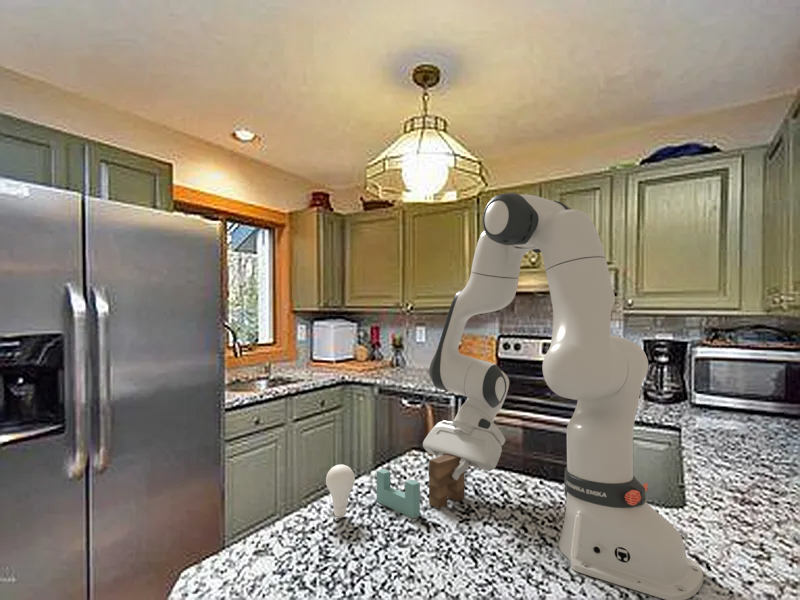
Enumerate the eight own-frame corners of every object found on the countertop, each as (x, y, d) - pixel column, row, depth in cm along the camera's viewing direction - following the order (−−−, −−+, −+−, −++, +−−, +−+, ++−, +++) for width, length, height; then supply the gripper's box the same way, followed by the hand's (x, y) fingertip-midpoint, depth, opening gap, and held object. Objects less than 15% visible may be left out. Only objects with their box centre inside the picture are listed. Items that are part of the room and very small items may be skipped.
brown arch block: (464, 497, 106) (464, 454, 107) (439, 508, 100) (438, 463, 100) (454, 494, 108) (454, 452, 109) (429, 504, 102) (429, 460, 103)
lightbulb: (349, 525, 92) (349, 470, 93) (321, 522, 93) (321, 468, 94) (358, 512, 98) (358, 461, 99) (331, 510, 99) (331, 459, 100)
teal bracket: (419, 515, 97) (419, 482, 97) (413, 518, 95) (413, 484, 96) (383, 499, 105) (383, 469, 106) (376, 501, 104) (376, 470, 104)
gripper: (433, 412, 117) (407, 458, 110) (500, 425, 102) (474, 479, 95) (445, 426, 120) (419, 472, 113) (511, 441, 105) (487, 495, 98)
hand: (445, 475), depth 104 cm, fingers closed on brown arch block, 3 cm apart
